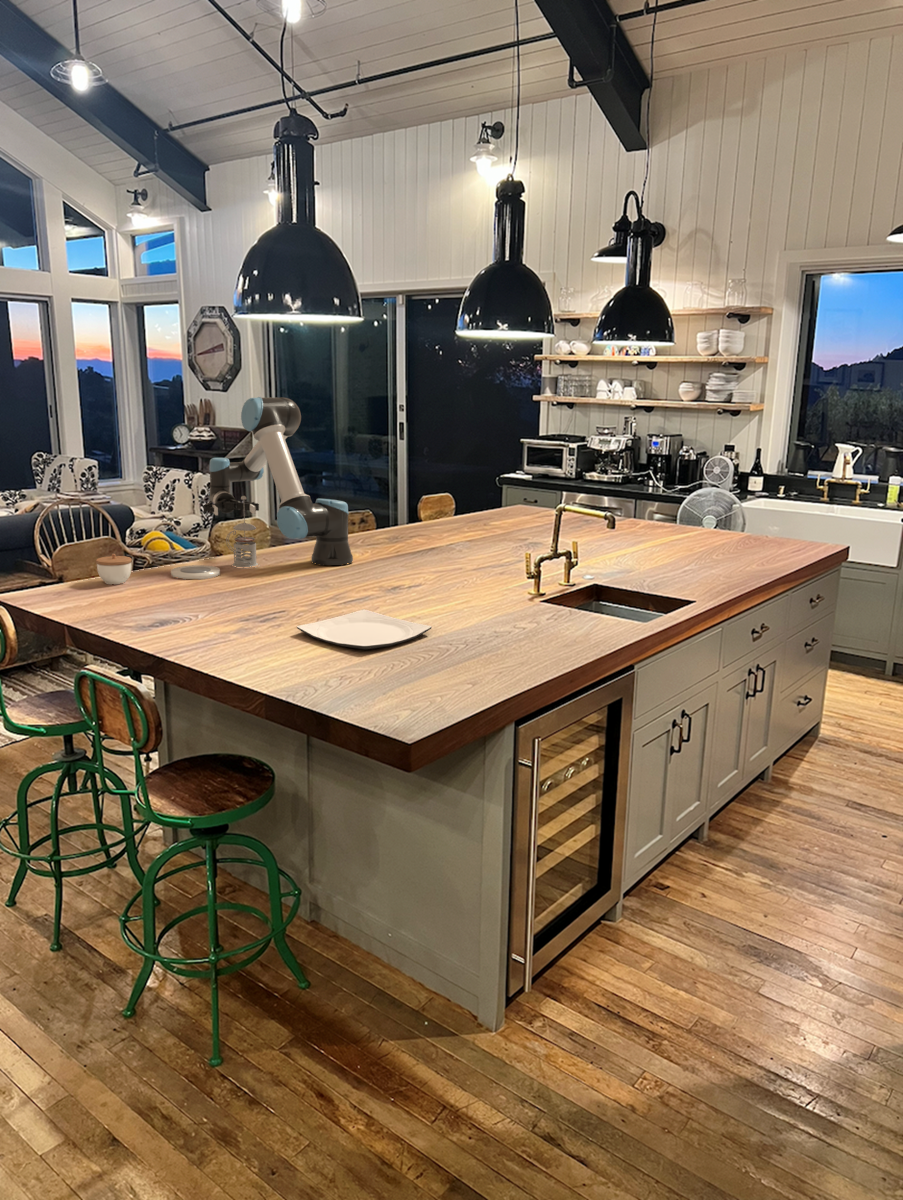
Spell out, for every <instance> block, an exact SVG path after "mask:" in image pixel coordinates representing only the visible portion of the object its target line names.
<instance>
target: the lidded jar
mask: <svg viewBox="0 0 903 1200" xmlns="http://www.w3.org/2000/svg"><path fill="white" fill-rule="evenodd" d="M132 561H133V559H132V558H131V557H130V556H125V555H116V553H111V555H109V556H102V557H98V558H97V559H96V560H95V562H96V568H97V573H98V575H99V578H100V579H101V580H102V581H103V582H104V583H105V584H106V585H112V584H114V585H121V584H120V583H123V582H125V583H126V581H128V579H129V578H130V576H131V573H132V567H133V566H132V565H133V564H132ZM123 584H124V583H123Z"/></svg>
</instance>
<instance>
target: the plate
mask: <svg viewBox="0 0 903 1200" xmlns="http://www.w3.org/2000/svg"><path fill="white" fill-rule="evenodd" d="M296 629H298V630H299V631H300V632H302V633H304V634H305V635H308V636H309V637H312V638H313V639H316V640H319V641H322V642H325V643H328V644H333V645H337V646H339V647H344V648H345V647H347V648H353V649H358V650H372V649H378V648H385V647H392V646H394V645H399V644H402V643H404V642H407V641H410V640H413V639H416V638H418V637H419V636H421V635H423V634H425V633H427V632H428V631H430V630H432V626H431V625H428V624H422V623H418V622H412V621H408V620H405V619H400V618H397V617H392V616H390V615H385V614H381V613H378V612H375V611H371V610H368V609H365V608H363V609H359V610H357V611H354V612H350V613H346V614H343V615H339V616H335V617H332V618H328V619H324V620H323V619H322V620H318V621H316V622H310V623H306V624H300V625H297V626H296Z"/></svg>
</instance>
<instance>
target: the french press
mask: <svg viewBox="0 0 903 1200" xmlns="http://www.w3.org/2000/svg"><path fill="white" fill-rule="evenodd" d="M240 500H242V501H243V500H247V497H246V496H245V495H242V496H241V497H240ZM245 516H246V515H245V512H243V523H241V522H240V523H238V524H235V525H234V526H233V527H232V529H233V530H231V531H230V532H229V533H228V534H227V535H226V540H225V541H226V543H225V544H226V546H227V547H228V549H229V550H230V551H231V552H233V561H234V562H233V564H232V565H233V566H236V567H250V566H251V567H252V566H256V565H258V564H259V563H258V562H257V543H256V541H255V540H256V538H254V537H252V536H246V531H247V532H250V531H255V530H256V529H257V527H256V526H255V525H254V524H251V523H247V522H245V521H246V520H245ZM236 531H243V533H244V534H243V535H244V536H240V537H239V536H238V537H235V538H234V541H235V542H233V547H232V546H231V544H230V536H231V534H233V536H235V535H236V534H237V532H236ZM228 544H229V545H228Z"/></svg>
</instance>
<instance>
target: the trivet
mask: <svg viewBox="0 0 903 1200" xmlns="http://www.w3.org/2000/svg"><path fill="white" fill-rule="evenodd" d="M171 575H172V576H173V577H172V576H171ZM218 575H219V576H220V575H221V569H220V567H217V566H215V565H214V566H213V565H204V564H203V565H202V564H201V565H200V564H199V565H197V564H195V565H183V566H178V567H174V568H172V569H170V576H171V577H172V578H174V577H178V578H183V579H182V580H186V579H198V580H206V579H207V580H209V579H214V578H217V577H219V576H218ZM216 576H217V577H216ZM213 577H214V578H213ZM178 578H177V579H178ZM208 578H209V579H208Z"/></svg>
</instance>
